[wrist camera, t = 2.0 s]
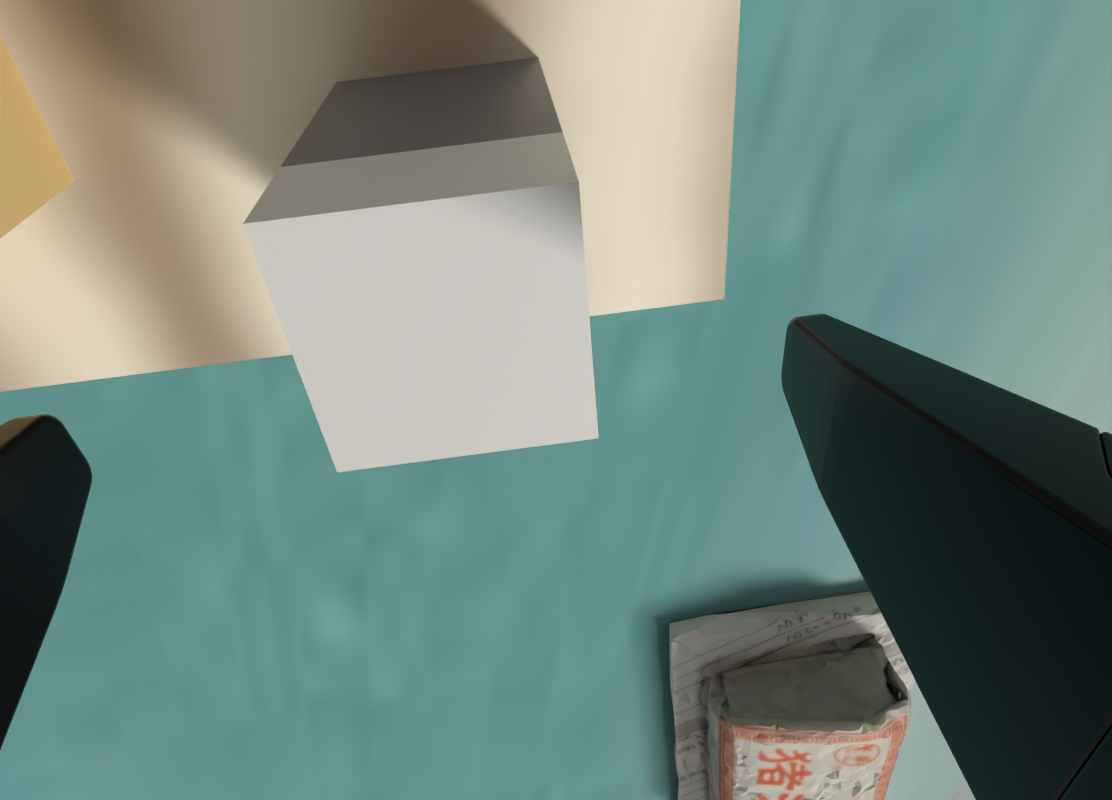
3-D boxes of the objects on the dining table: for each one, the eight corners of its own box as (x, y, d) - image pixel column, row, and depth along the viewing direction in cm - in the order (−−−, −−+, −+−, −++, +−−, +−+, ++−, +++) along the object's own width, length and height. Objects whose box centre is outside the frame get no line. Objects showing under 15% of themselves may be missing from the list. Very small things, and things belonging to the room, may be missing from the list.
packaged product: (905, 891, 34) (699, 923, 34) (861, 787, 38) (676, 816, 38) (994, 686, 23) (692, 733, 23) (920, 569, 27) (662, 610, 27)
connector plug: (385, 266, 16) (337, 472, 11) (335, 82, 14) (241, 223, 8) (557, 244, 16) (598, 438, 11) (538, 57, 14) (578, 181, 8)
